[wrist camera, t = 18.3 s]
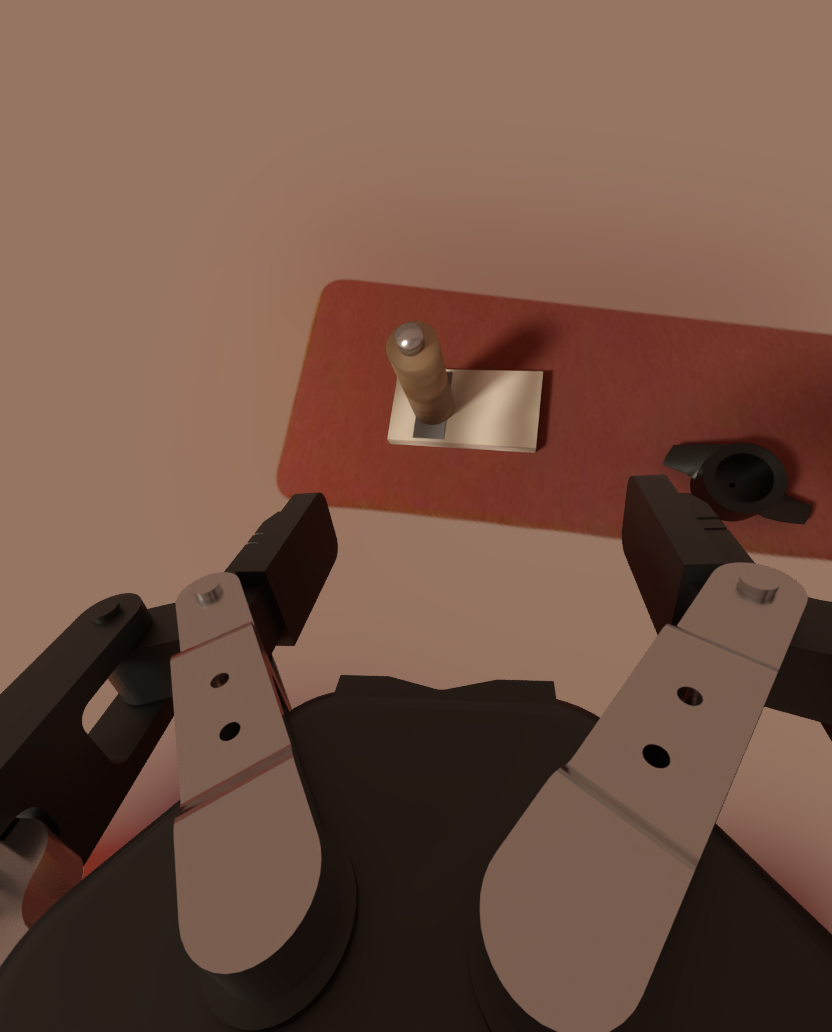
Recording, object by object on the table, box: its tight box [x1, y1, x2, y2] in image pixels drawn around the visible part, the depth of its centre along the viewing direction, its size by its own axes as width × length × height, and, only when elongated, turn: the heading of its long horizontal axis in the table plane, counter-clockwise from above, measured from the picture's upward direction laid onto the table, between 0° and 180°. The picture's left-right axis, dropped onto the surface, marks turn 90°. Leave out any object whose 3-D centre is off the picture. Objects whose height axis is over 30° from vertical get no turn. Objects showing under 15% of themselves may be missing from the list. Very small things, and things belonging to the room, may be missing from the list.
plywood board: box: [387, 369, 543, 453], centre depth 43 cm, size 14×8×1 cm, turn 82°
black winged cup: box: [663, 443, 811, 524], centre depth 36 cm, size 8×10×3 cm
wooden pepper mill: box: [386, 321, 454, 425], centre depth 38 cm, size 4×4×11 cm
